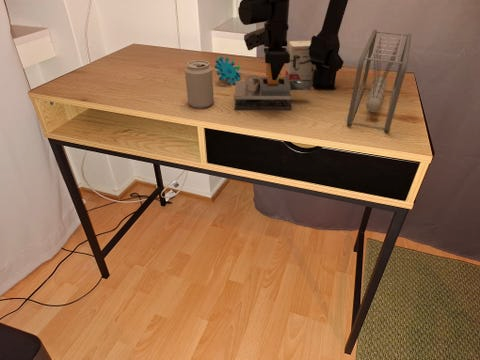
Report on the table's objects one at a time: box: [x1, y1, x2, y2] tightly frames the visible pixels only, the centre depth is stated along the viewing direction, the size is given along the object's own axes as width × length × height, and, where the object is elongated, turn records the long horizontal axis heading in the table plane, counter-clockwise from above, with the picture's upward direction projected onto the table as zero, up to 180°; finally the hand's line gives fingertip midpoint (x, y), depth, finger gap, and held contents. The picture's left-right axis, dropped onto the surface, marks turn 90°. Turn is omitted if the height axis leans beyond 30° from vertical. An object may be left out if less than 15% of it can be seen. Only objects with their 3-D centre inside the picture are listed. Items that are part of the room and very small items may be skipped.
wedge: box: [265, 63, 282, 84], centre depth 101 cm, size 4×2×9 cm, turn 89°
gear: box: [214, 56, 242, 85], centre depth 117 cm, size 11×6×10 cm
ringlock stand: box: [234, 74, 312, 111], centre depth 103 cm, size 22×12×7 cm, turn 89°
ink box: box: [284, 40, 315, 82], centre depth 116 cm, size 9×5×12 cm, turn 98°
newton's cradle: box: [346, 29, 413, 132], centre depth 97 cm, size 30×10×18 cm, turn 157°
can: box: [184, 59, 215, 109], centre depth 101 cm, size 8×8×12 cm
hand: (273, 78), depth 101 cm, fingers open, 2 cm apart
